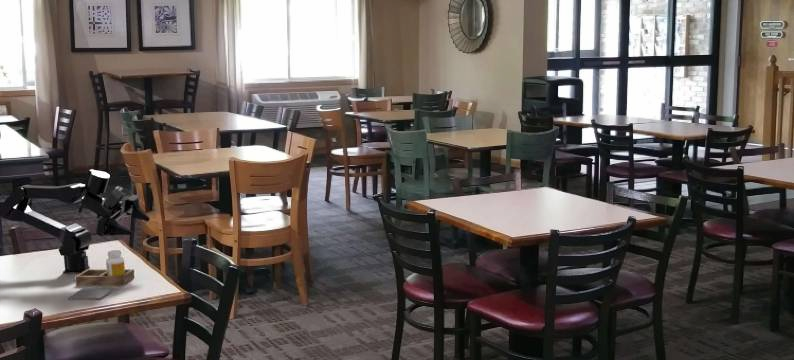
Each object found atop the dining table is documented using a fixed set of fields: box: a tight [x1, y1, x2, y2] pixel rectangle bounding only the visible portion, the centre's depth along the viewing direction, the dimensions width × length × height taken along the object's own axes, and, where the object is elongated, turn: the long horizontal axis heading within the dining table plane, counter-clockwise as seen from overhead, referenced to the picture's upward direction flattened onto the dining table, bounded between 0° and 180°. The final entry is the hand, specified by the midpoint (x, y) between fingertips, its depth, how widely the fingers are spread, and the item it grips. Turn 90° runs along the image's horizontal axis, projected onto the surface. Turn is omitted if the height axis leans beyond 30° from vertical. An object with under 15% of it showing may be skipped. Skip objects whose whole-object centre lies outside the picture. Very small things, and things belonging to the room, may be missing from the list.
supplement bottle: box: [105, 249, 126, 276], centre depth 269 cm, size 5×5×10 cm
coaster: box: [67, 286, 116, 301], centre depth 258 cm, size 10×10×1 cm
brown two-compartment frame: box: [75, 268, 135, 286], centre depth 270 cm, size 15×8×3 cm, turn 84°
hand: (140, 226), depth 275 cm, fingers open, 9 cm apart
